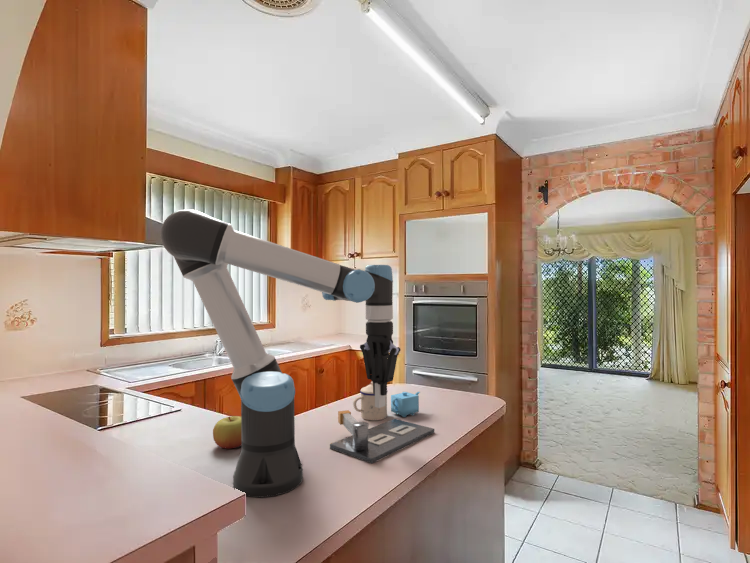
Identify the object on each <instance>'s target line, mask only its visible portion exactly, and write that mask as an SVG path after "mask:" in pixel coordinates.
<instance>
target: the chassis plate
mask: <svg viewBox="0 0 750 563" xmlns="http://www.w3.org/2000/svg"><path fill="white" fill-rule="evenodd" d="M433 434H435V428H432V427H429V426H426V425H425V426H424V425H421V424H416V423H413V422H408V421H405V420H401V419H397V418H393V419H390V420H387V421H385V422H382V423H380V424H377V425H375V426H372V427H370V428H368V449H366V450H355V449H354V448H353V435H352V434H351V435H349V436H347V437H345V438H341V439H339V440H337V441H334V442H331V443H330V444H329V449H331V450H333V451H336V452H337V453H338V452H340V453H342V454H344V455H347V456H350V457H352V458H353V457H354V458H356V459H358V460H362V461H365V462H367V463H369V464H374V463H376V462H378V461H380V460H382V459H384V458H386V457H388V456H390V455H392V454H394V453H396V452H398V451H401V450H402V449H404V448H406V447H408V446H410V445H413V444H414V443H416V442H419V441H420V440H422V439H425V438H427V437H429V436H430V435H433Z"/></svg>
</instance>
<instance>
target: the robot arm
mask: <svg viewBox="0 0 750 563" xmlns="http://www.w3.org/2000/svg"><path fill="white" fill-rule="evenodd" d="M160 241H161V243H162V246H163V248H164V249H165V251H167V252H168V253H169V254H170V255H171V256H173V258H174V260H175V262H176V265H177V267H178V269H179V271H180V273H181V275H182V276H183V278H185V279H186V280H190V281H191V282H193V286H194V287H195V289H196V291H197V293H198V295H199V298H200V299H201V301H202V303H203V306H204V308H205V310H206V312H207V314H208V316H209V319H210V320H211V323H212V325H213V327H214V329H215V331H216V334H217V335H218V337H219V340H220V342H221V344H222V346H223V348H224V350H225V352H226V355H227V356H228V358H229V360H230V363H231V365H232V368H233V372H232V374H231V375H230V378H231V381H232V383H233V385H234V388H235V389H236V391H237V393H238V395H239V397H240V410H241V411H240V417H241V446H240V447H241V448H240V449H241V450H240V454H239V457H238V460H237V463H236V466H235V470H234V472H233V476H232V479H233V483H232V484H233V486H232V487H233V489H234V488H236V489H238V490H240V491H242V492H245V493H246V497H250V498H268V497H274V496H278V495H283V494H285V493H289V492H290V491H292V490H294V489H296V488H298V486H299V485H300V484H301V483H302V481H303V479H304V469H303V464H302V461H301V458H300V456H299V453H298V450H297V447H296V443H295V442H296V441H295V440H296V438H295V434H296V433H295V432H296V430H295V429H296V428H295V425H296V424H295V420H296V419H295V395H296V388H295V383H294V379H293V378H292V376H290V374H288V373H283V372H282V370H281V367H280V366H279V363H278V361H277V360H276V357H275V355H272V354H270V353H267V352H266V350H265V348H264V345H263V343H262V341H261V339H260V337H259V335H258V332H257V329H256V328H255V326H254V324H253V322H252V320H251V317H250V314H249V313H248V310H247V308H246V306H245V304H244V301H243V299H242V298H241V295H240V293H239V291H238V289H237V287H236V284H235V282H234V280H233V279H232V276H231V274H230V271H229V269H228V265H231V266H234V267H238V268H241V269H244V270H248V271H251V272H253V273H256V274H257V273H258V274H260V275H264V276H268V277H270V278H274V279H277V280H281V281H283V282H287V283H290V284H293V285H297V286H301V287H304V288H308V289H310V290H314V291H317V292H320V293H321V294H322V298H323V300H325V301H333V302H334V301H335V302H336V301H349V302H353V303H362V302H365V320H366V322H365V335H366V336H367V338H366V340H365V341H366V342H364V343H363V344H360V345H359V348H360V349H359V350H360V351H361V353H362V357H363V362H364V368H365V373H366V378H367V380H371V382H373V393H374V394H375V407H377V408H381V407H383V406H385V395H387V394H388V384H389V383H390V382H392V381H394V376H395V371H396V366H397V361H398V360H397V359H398V356H399V354H400V351H401V347H399V346H396V345H395V344H394V341H393V338H392V336H393V334H394V322H393V321H392V320H393V319H394V318H393V317H394V312H393V311H394V310H393V300H394V299H393V296H394V295H393V292H394V291H393V290H394V289H393V288H394V286H393V284H394V280H393V278H394V277H393V269H392V267H391V266H390V265H388V264H368V265H366V266H365V269H364V270H363V269H360V268H358V269H357V268H356V269H354V268H351V267H348V266H345V265H341V264H339V263H335V262H333V261H329V260H327V259H324V258H321V257H318V256H314V255H311V254H309V253H305V252H302V251H299V250H296V249H293V248H291V247H288V246H283V245H281V244H277V243H276V242H272V241H269V240H265V239H263V238H259V237H255V236H254V235H250V234H247V233H244V232H242V231H238V230H235V229H234V228H233V226H232V224H231V223H228V222H225V221H222V220H220V219H217V218H214V217H212V216H210V215H208V214H205V213H204V212H201V211H198V210H195V209H188V208H187V209H179V210H177V211H174V212H172V213H171V214H170V215H168V216H167V217H166V218H165V220H164V221H163V222H162V225H161V228H160ZM387 396H388V395H387Z"/></svg>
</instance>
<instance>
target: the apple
mask: <svg viewBox="0 0 750 563" xmlns="http://www.w3.org/2000/svg"><path fill="white" fill-rule="evenodd" d="M212 438H213V441H214V443H215V444H216V445H217V447H220V448H221V449H224V450H225V449H226V450H229V449H236V448H238V447H242V446H241V415H240V416H239V415H235V416H233V415H232V416H226V417H222V419H219V420H218V421H217V422H216V423H215V425H214V427H213V429H212Z"/></svg>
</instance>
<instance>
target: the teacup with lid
mask: <svg viewBox="0 0 750 563" xmlns="http://www.w3.org/2000/svg"><path fill="white" fill-rule="evenodd" d="M359 392H360V396H357V397H355V398H354V399H353V402H352V405H353V409H354V410H355V411H356V412H358V413H360V416H361V418H362V419H363V420H367V421H380V420H385V419H386V418H387V416H388V395H385V406H383V407H381V408H377V407H375V394H374V393H373V382H372V381H370V383H369V384H367V385H366V386H363V387H362V388H361V389H360V390H359ZM359 400H360V409H359V408H358V406H357V402H358V401H359Z"/></svg>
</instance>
